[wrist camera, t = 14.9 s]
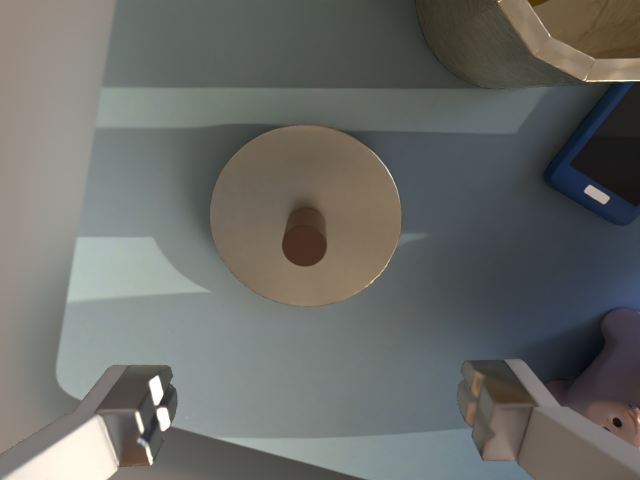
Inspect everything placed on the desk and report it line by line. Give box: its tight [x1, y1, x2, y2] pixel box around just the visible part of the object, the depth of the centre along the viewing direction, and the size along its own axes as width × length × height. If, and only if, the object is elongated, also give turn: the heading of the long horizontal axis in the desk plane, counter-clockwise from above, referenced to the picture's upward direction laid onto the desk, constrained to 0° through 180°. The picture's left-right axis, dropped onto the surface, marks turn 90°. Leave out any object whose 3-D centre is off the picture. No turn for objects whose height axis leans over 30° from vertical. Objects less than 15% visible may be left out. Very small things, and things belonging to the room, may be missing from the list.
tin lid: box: [210, 124, 402, 307], centre depth 21 cm, size 13×13×5 cm
